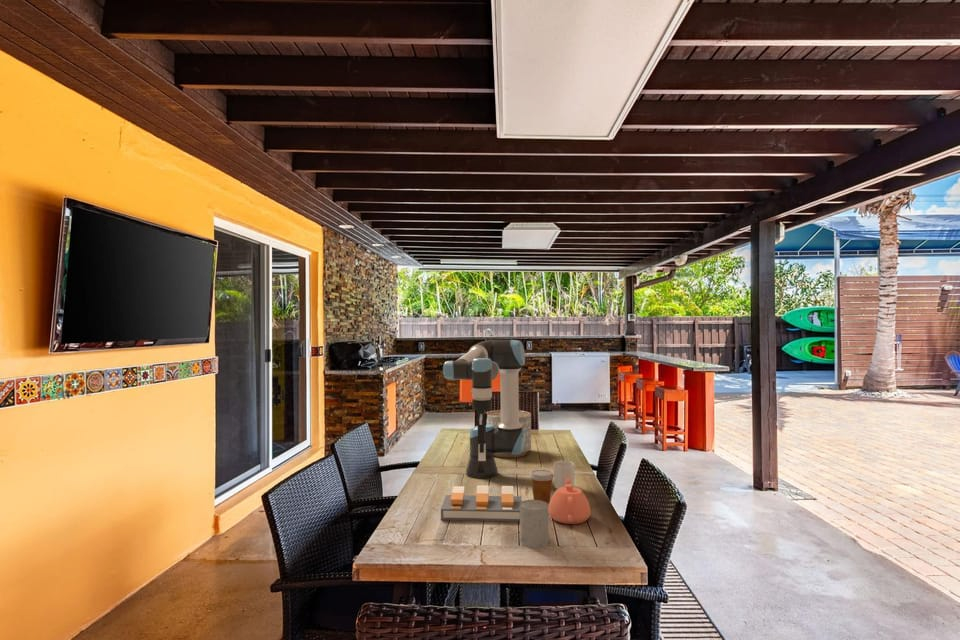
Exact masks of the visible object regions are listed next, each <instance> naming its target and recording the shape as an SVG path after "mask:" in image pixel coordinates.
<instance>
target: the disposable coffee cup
mask: <svg viewBox="0 0 960 640" xmlns="http://www.w3.org/2000/svg"><path fill="white" fill-rule="evenodd" d="M529 477H530V479H531V488H532V497H533V500H541V501H544V502H546V503H548V504H549V503H550V500H551V494H552V484H553V480H554V474H553V472H552V471H550V470H548V469H535V470H532V471H531V472H530V474H529Z"/></svg>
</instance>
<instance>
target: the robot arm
mask: <svg viewBox="0 0 960 640" xmlns="http://www.w3.org/2000/svg"><path fill="white" fill-rule="evenodd" d="M525 364H526V353H525V347H524V345H523V343H522V341H521V340H517V339H487V340H484V341H483V340H482V341H480V342H478V343H476V344H474V345H472V346H471V347H470V348H469V350H468V352H466V353H465V354H463V355H462V356H461V357H459V358H458V359H456V360H447V361H445V362H444V363H443V367H442V374H443V377H444V378H445V379H446V380H453V381H454V380H455V381H457V380H458V381H459V380H460V381H461V380H463V381H464V380H465V381H468V380H469V381H471V385H472V386H471V387H472V388H471V390H470V393H472V394H471V398H472V400H471V401H472V402H471V403H472V404H471V409H472V410H476V411H478V412H477V413H476V417H475V418H476V425H475V426H472V427H471V429H470V430H469V459H468V460H469V461H468V464H467V467H466V469H465V471H466V472H465V473H466V475H467V476H468V477H470V478H474V479H489V478H495V477H496V476H498V473H499V472H498V471H499V470H498V467H497V464H496V463H497V462H496V460H495V456H494V453H500V454H511V455H513V454H521V453H522V451H523V448H524V444H525V437H526V431H525V430H524V429H523V430H522V425H521V424H520V423H519V410H520V406H519V404H520V403H519V401H520V400H519V397H520V395H519V385H520V384H519V372H520V371H521V370H522V366H525ZM499 374H500V379H499V380H500V381H499V382H500V384H499V385H500V389H499V390H500V410H501V422H500V423H499V424H498V428H494V425H491V424H487V413H486V411H489V410H490V411H491V409H492V408H493V404H492V403H493V401H492V400H493V399H492V397H493V385H492V382H493V381H492V380H495V379H496V378H497V377H498V375H499Z"/></svg>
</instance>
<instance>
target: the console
mask: <svg viewBox="0 0 960 640" xmlns="http://www.w3.org/2000/svg"><path fill="white" fill-rule="evenodd" d="M501 496H502V495H489V497H488V506H476V495H474V494H473V495H469V494H468V495H467V494H466V495H465V494H464V499H463V505H462V504H451V502H450V499H451V494H445V496H444V499H443V502H442V504H441V507H440V521H470V522H471V521H474V522H515V523H517V522H519V523H520V503H521V502H522V501H523V500H522V496H520V495H513V501H514V507H501Z"/></svg>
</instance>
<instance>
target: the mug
mask: <svg viewBox="0 0 960 640" xmlns="http://www.w3.org/2000/svg"><path fill="white" fill-rule="evenodd" d="M575 466H576V465H575V463H574V462H573V461H568V460H557V461H555V462H554V463H553V473H554V474H553V476H554V477H553V487H554V488H555V490H557V489H558V488H560V487H565V483H566V480H565V479H566V477H569V479H570V484H571V485H573V486H574V487H575V488H576V486H575V485H576V484H575V483H576V482H575V468H576V467H575Z"/></svg>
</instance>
